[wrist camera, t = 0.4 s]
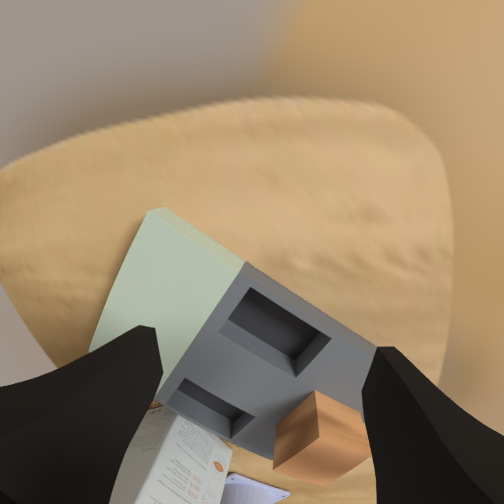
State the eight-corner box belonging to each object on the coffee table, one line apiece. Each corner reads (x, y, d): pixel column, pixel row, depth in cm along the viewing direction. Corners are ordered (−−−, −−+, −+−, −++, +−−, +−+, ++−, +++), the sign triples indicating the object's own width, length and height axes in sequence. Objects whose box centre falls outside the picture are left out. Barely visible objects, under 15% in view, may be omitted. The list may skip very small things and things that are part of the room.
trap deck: (299, 451, 22) (299, 470, 20) (103, 337, 22) (88, 351, 19) (399, 361, 19) (410, 379, 17) (165, 207, 19) (148, 209, 16)
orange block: (321, 444, 19) (324, 486, 14) (276, 425, 19) (272, 470, 14) (359, 412, 18) (371, 455, 13) (314, 390, 17) (319, 436, 13)
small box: (138, 410, 23) (77, 505, 10) (185, 398, 22) (127, 518, 9) (186, 459, 24) (150, 551, 12) (234, 451, 23) (208, 560, 10)
